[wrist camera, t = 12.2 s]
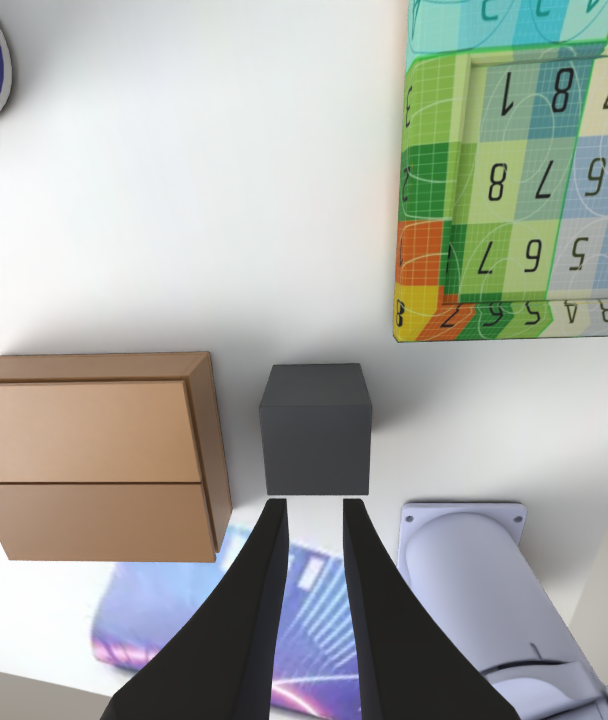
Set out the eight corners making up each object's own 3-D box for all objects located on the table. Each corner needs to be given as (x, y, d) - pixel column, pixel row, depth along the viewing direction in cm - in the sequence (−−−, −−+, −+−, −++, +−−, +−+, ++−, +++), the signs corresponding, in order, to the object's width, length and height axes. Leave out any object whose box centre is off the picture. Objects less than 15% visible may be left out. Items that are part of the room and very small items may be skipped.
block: (357, 437, 21) (368, 495, 17) (278, 438, 22) (267, 495, 17) (359, 363, 20) (372, 405, 15) (272, 364, 20) (258, 406, 15)
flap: (216, 558, 20) (215, 562, 20) (13, 556, 21) (8, 560, 21) (202, 480, 18) (200, 484, 18) (-23, 480, 19) (-28, 484, 19)
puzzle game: (1090, -663, 7) (701, 341, 14) (780, -305, 11) (608, 313, 18) (457, -555, 7) (402, 349, 14) (405, -258, 12) (383, 321, 19)
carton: (232, 510, 24) (216, 563, 20) (56, 509, 25) (8, 561, 21) (209, 351, 20) (183, 381, 16) (-3, 355, 20) (-76, 385, 17)
